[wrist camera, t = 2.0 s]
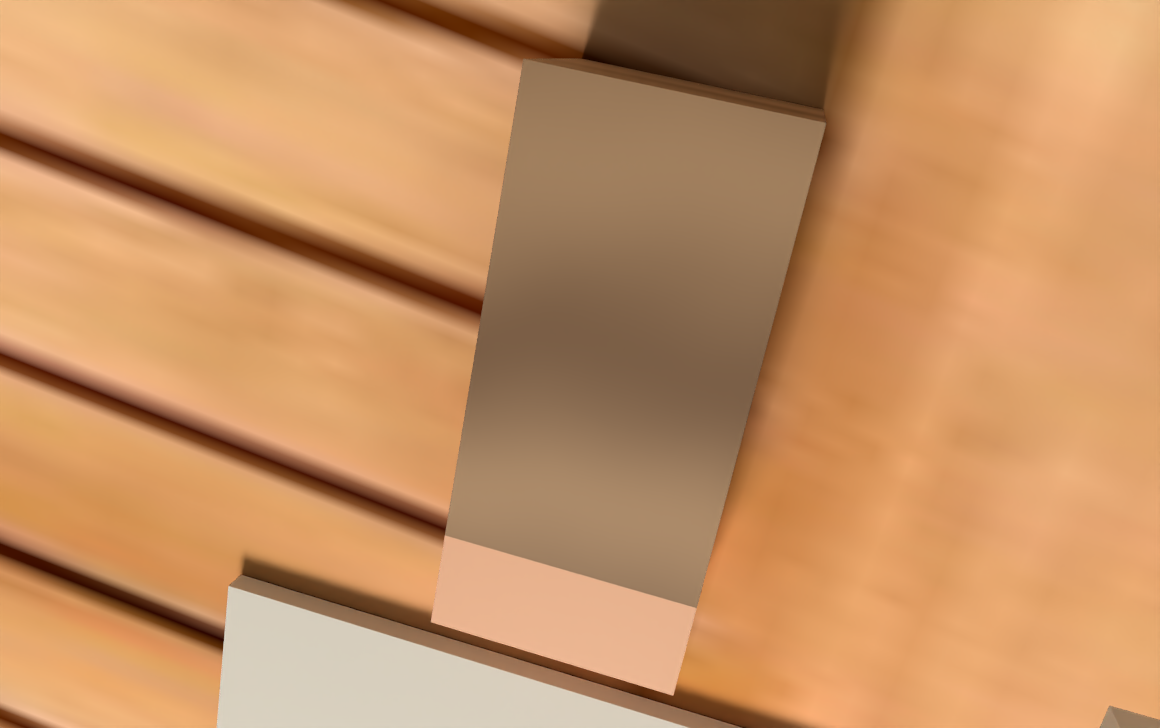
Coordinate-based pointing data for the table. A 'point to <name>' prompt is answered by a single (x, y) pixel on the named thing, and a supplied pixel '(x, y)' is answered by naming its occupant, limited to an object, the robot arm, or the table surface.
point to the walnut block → (618, 359)
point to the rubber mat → (396, 675)
